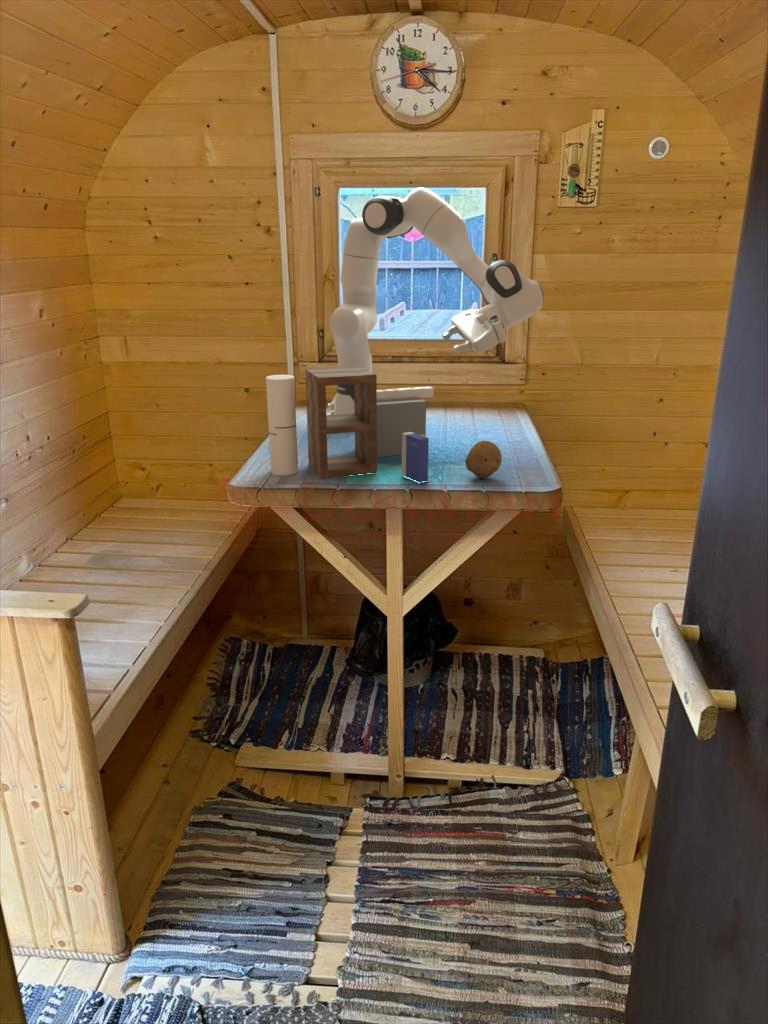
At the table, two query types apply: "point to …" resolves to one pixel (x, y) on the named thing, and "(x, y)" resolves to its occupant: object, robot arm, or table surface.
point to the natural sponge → (484, 459)
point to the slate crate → (398, 423)
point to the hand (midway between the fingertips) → (448, 344)
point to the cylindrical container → (282, 424)
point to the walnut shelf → (342, 421)
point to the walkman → (415, 456)
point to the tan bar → (405, 393)
